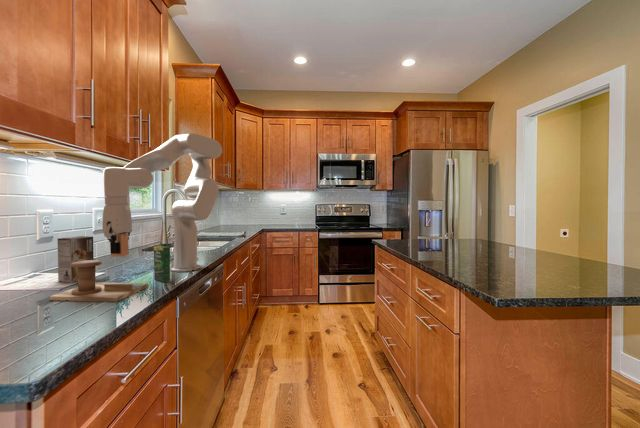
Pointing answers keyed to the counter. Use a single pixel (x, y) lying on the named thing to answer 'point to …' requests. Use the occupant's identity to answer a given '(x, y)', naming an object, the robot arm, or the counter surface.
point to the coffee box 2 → (162, 263)
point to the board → (103, 292)
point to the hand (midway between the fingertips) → (119, 251)
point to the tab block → (122, 245)
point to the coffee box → (73, 256)
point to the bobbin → (86, 277)
